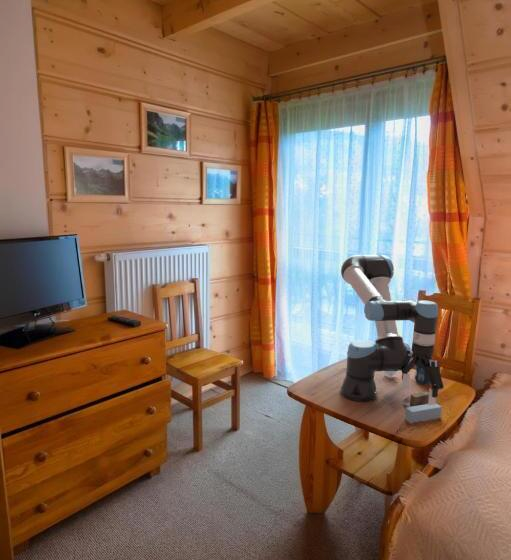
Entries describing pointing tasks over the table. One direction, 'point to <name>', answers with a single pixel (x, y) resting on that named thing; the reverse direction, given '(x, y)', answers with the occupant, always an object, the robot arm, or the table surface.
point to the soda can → (421, 376)
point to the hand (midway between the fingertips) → (417, 396)
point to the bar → (423, 412)
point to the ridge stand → (418, 399)
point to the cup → (390, 374)
